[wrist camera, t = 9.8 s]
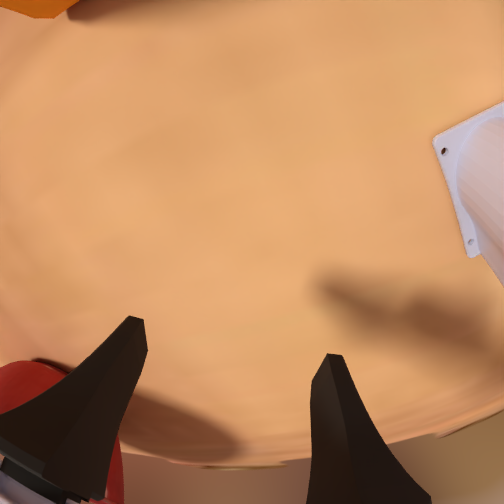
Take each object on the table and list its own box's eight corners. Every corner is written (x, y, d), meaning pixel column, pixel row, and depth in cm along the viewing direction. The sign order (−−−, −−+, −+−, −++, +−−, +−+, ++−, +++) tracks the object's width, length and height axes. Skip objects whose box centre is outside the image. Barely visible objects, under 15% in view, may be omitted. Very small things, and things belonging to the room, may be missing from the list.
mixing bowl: (-27, 327, 35) (-69, 393, 22) (61, 315, 27) (-8, 439, 14) (70, 422, 49) (47, 482, 36) (184, 439, 41) (165, 525, 29)
